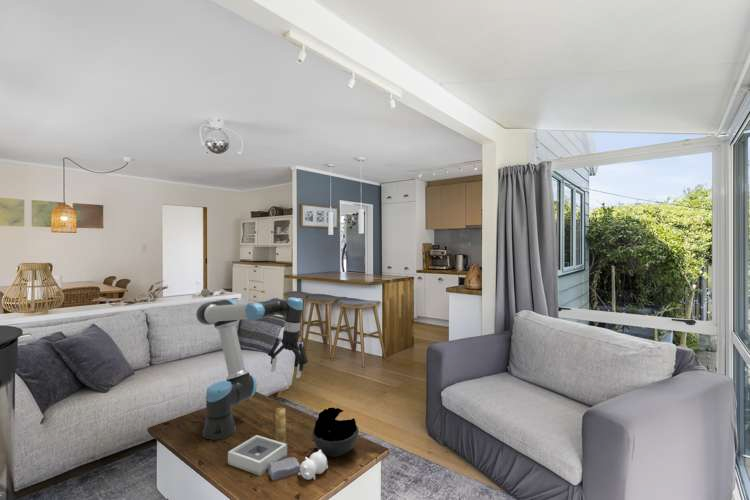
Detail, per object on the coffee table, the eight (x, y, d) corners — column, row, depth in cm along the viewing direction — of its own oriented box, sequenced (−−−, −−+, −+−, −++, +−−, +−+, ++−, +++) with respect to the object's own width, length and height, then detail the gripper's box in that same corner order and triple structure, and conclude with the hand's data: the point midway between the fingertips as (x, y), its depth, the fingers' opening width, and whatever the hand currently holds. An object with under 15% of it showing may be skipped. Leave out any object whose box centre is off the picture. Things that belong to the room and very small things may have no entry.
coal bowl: (336, 437, 175) (335, 397, 175) (368, 451, 162) (367, 408, 163) (303, 455, 160) (302, 412, 160) (335, 472, 147) (335, 425, 147)
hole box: (228, 463, 154) (227, 451, 154) (256, 445, 168) (256, 434, 168) (259, 475, 146) (259, 462, 146) (287, 455, 160) (287, 444, 160)
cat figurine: (303, 459, 140) (325, 444, 150) (288, 466, 146) (310, 451, 155) (312, 483, 137) (334, 466, 147) (297, 489, 143) (319, 473, 152)
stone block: (266, 474, 150) (271, 482, 141) (266, 461, 151) (271, 468, 142) (295, 467, 155) (302, 474, 147) (294, 454, 156) (301, 461, 148)
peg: (273, 445, 168) (273, 410, 168) (280, 441, 172) (280, 406, 172) (281, 447, 166) (280, 412, 166) (287, 443, 170) (287, 408, 170)
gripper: (264, 326, 177) (258, 370, 177) (311, 336, 170) (305, 382, 170) (273, 324, 184) (267, 366, 184) (318, 333, 177) (312, 377, 177)
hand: (285, 374), depth 177 cm, fingers open, 13 cm apart
